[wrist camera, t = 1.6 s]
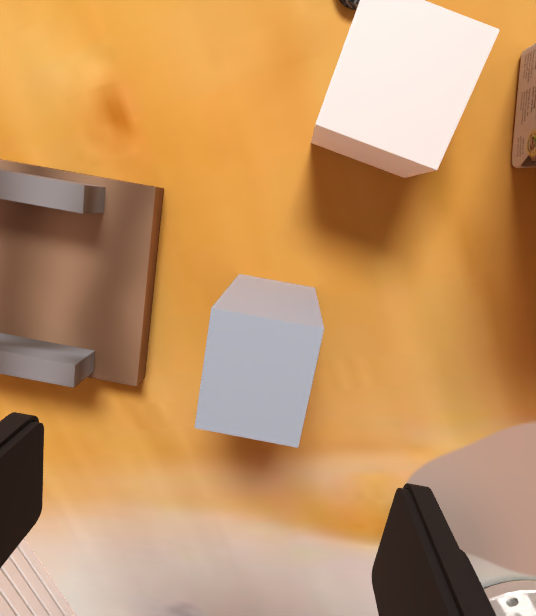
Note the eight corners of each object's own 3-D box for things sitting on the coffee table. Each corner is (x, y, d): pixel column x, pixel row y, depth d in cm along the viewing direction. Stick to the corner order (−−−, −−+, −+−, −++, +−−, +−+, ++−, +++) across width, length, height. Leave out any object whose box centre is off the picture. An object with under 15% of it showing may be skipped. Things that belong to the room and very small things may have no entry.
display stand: (163, 188, 25) (139, 185, 22) (144, 377, 29) (121, 404, 25) (-83, 144, 26) (-150, 133, 22) (-74, 336, 29) (-131, 356, 25)
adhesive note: (404, 178, 24) (437, 171, 19) (310, 143, 24) (314, 125, 19) (449, 72, 23) (500, 29, 17) (349, 35, 23) (367, -23, 17)
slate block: (314, 287, 26) (324, 328, 18) (297, 371, 28) (298, 447, 19) (239, 273, 26) (211, 307, 18) (226, 358, 28) (194, 428, 19)
